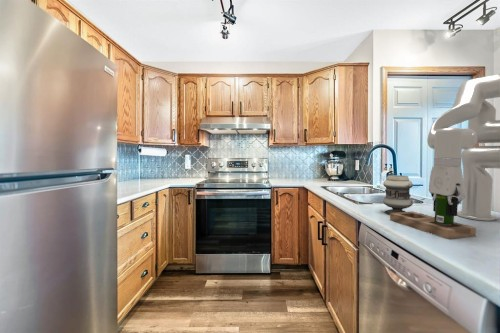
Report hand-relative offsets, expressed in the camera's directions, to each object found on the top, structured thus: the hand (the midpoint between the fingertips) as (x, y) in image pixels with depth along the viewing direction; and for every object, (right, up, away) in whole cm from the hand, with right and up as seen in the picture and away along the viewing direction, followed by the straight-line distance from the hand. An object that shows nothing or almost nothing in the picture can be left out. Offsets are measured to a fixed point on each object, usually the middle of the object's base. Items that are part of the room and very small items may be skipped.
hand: (444, 213), depth 86 cm
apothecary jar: (0, -6, +28) cm, 28 cm away
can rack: (-1, -7, +6) cm, 9 cm away
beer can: (0, -4, 0) cm, 4 cm away
